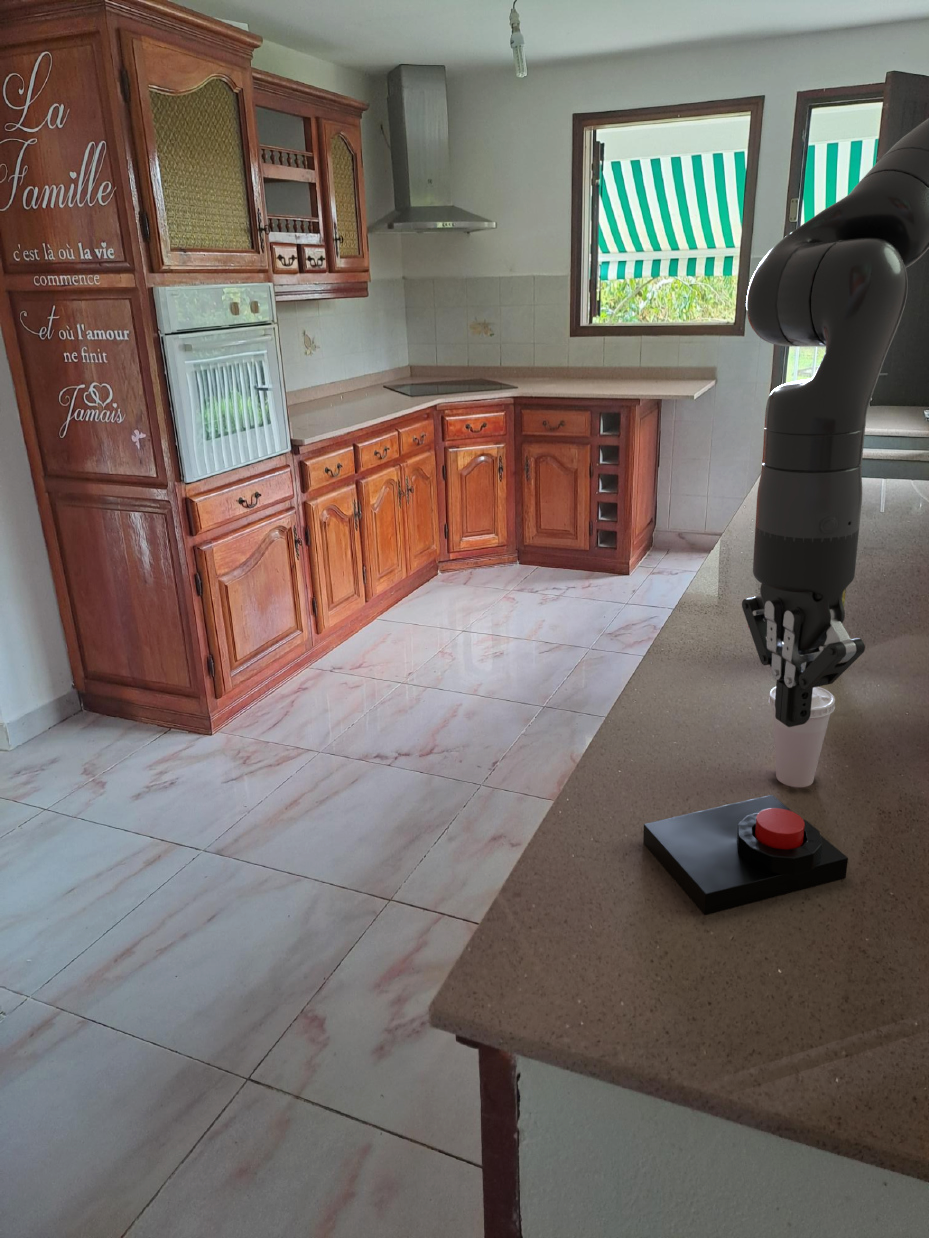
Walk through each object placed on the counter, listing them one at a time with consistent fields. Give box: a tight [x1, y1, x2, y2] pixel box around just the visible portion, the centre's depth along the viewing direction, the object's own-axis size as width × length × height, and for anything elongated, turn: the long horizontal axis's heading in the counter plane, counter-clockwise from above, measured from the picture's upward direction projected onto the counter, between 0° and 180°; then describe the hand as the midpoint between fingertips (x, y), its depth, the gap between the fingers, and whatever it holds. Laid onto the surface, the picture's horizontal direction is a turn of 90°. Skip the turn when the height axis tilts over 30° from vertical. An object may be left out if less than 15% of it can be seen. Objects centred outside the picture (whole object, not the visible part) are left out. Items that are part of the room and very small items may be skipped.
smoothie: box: [767, 686, 836, 788], centre depth 91 cm, size 6×6×14 cm
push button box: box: [642, 794, 849, 916], centre depth 80 cm, size 14×12×4 cm
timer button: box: [755, 808, 805, 850], centre depth 77 cm, size 4×4×2 cm
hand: (791, 721), depth 74 cm, fingers closed
